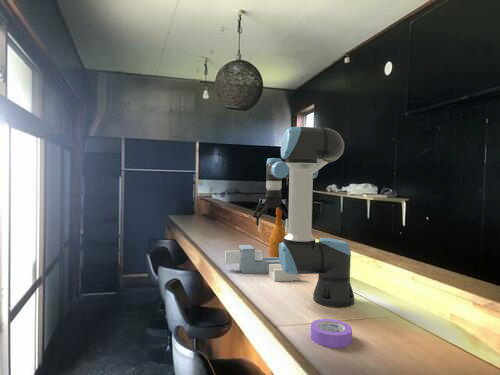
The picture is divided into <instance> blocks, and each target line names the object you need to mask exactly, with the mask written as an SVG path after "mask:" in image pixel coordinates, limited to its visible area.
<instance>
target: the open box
mask: <svg viewBox="0 0 500 375" xmlns="http://www.w3.org/2000/svg"><path fill="white" fill-rule="evenodd" d="M238 250H242V264H238V269H239V271H240V272H241V274H256V273H257V274H258V273H269V264H281V263H280V258H279V257H269V256H268V257H263V261H262V262H255V250H256V249H255V247H254V246H253V245H251V244H239V245H238Z"/></svg>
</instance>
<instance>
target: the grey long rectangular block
mask: <svg viewBox="0 0 500 375" xmlns="http://www.w3.org/2000/svg"><path fill="white" fill-rule="evenodd" d="M263 253H264V252H263V250H262V249H255V262H262V261H263V258H264V256H263V255H264V254H263ZM224 262H225V263H224V264H226V265H227V264H228V265H232V264H236V265H237V264H238V265H239V264H242V250H239V249H233V250H232V249H224Z"/></svg>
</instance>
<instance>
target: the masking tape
mask: <svg viewBox="0 0 500 375" xmlns="http://www.w3.org/2000/svg"><path fill="white" fill-rule="evenodd" d="M310 340H311V341H314V342H313V343H314V344H317V345H319V346H322V347H326V348H331V349H332V348H333V349H341V348H346V347H348V346H350V345H351V344H352V343H353V342H352V341H353V328H352V326H351V325H349V324H348V323H346V322H344V321H341V320H338V319H332V318H321V319H319V318H318V319H316V320H313V321H312V322H311V323H310Z"/></svg>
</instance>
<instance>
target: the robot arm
mask: <svg viewBox="0 0 500 375" xmlns="http://www.w3.org/2000/svg"><path fill="white" fill-rule="evenodd" d="M281 140H282V141H281V145H280V157H281V158H280V157H279V158H278V157H277V158H275V157H271V158H270V157H269V158H267V160H266V165H265V166H266V177H265V178H266V183H265V188H266V191H265V199H263V198H259V201H258V202H259V203H258V205H257V207H256V209H255V211H254V213H253V215H252V217H253V219H255V220H256V221H255V222H256V226H258V227H257V228H258V233H261V217H262V216H263V214H264V213H265V212H266V211H267V210H268V209H276V208H278V207H279V209H280V210H281V211H282V215H284V216H285V217H286V218H285V230H286V231H285V234H286V235H285V236H284V242H281V243H280V244H279V258H280V263H281V266H282V269H283V271H284V272H285V273H287V274H296V275H298V276H299V275H317V274H318V278H317V282H316V285H315V287H314V290H313V292H312V293H313V294H312V295H313V296H312V297H313V298H312V299H313V301H314V302H315V303H317V304H320V305H322V306H326V307H332V308H344V307H345V308H346V307H350V306H352V305H354V304H355V294H354V291H353V288H352V284H351V260H352V259H351V257H352V254H351V253H352V252H351V245H350V244H349V243H348V242H347V241H345V240H341V239H336V238H330V237H319V239H318V241H316V237H315V236H314V235H313V234H312V226H313V220H312V219H313V216H312V215H313V188H314V187H313V185H314V184H313V182H314V179H316V178H317V177H318V174H319V170H320V169H322V168H323V167H324V166H325V165H327V164H329V163H333V162H335V161H337V160H338V159H339V158H340V157H342V155H343V154H344V150H345V142H344V139H343V138H342V136H341V135H340V133H338V131H336V130H334V129H332V128H328V127H312V126H309V127H308V126H291V127H288V128H287V129H286V130H285V131H284V134H283V136H282V139H281ZM283 160H285V161H283ZM282 179H289V180H288V199H286V198H285V199H282V190H281V189H282V183H283V182H282ZM264 203H265V204H266V205H265V206H264V208H263V209H262V210H261V211H260V212H259V210H260V209H261V207H262V204H264ZM282 204H284V205H285V207H286V209H287V210H286V211H287V212H288V213H287V212H286V211H285V209H284V208H283V207H282V206H281V205H282ZM258 212H259V213H258Z"/></svg>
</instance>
